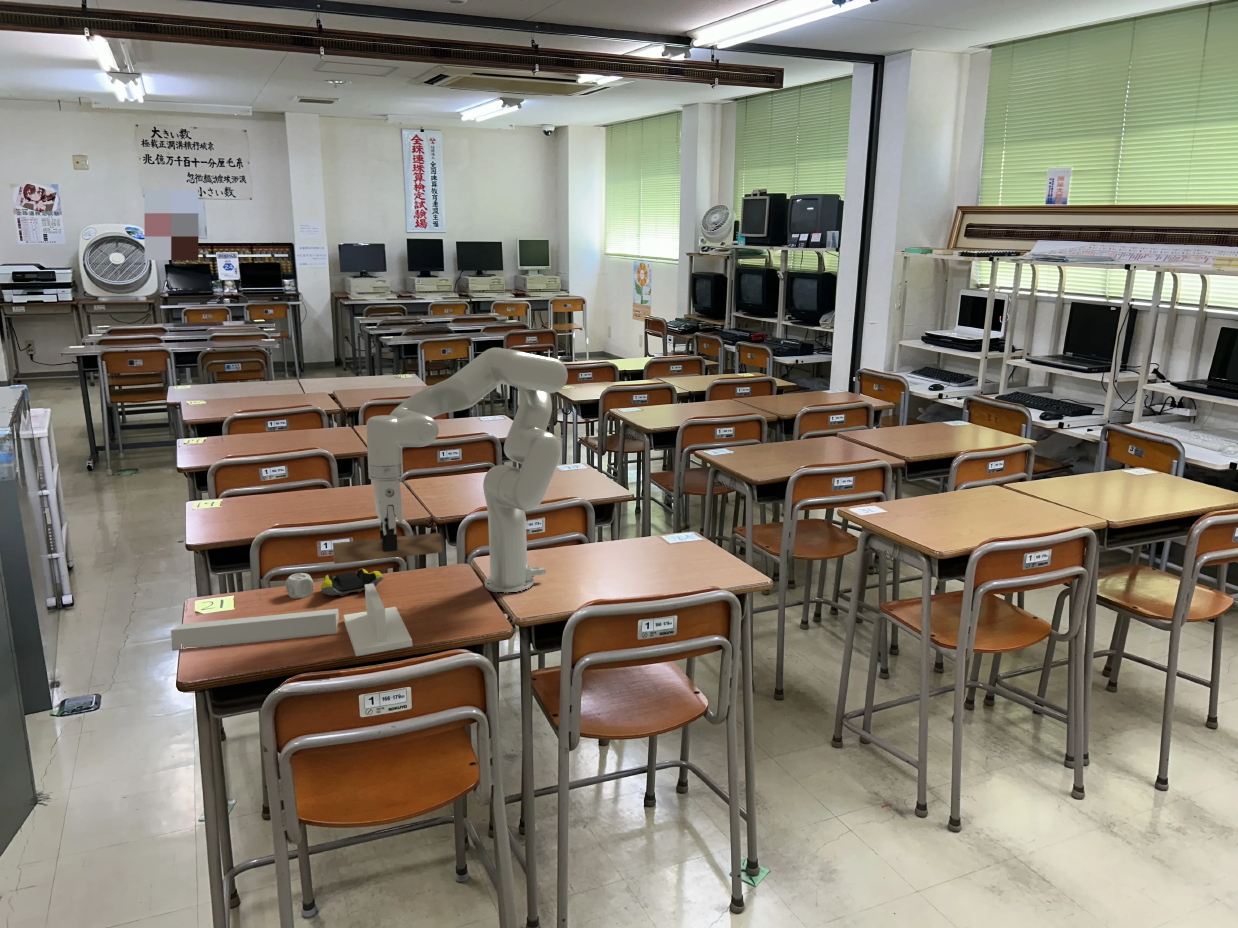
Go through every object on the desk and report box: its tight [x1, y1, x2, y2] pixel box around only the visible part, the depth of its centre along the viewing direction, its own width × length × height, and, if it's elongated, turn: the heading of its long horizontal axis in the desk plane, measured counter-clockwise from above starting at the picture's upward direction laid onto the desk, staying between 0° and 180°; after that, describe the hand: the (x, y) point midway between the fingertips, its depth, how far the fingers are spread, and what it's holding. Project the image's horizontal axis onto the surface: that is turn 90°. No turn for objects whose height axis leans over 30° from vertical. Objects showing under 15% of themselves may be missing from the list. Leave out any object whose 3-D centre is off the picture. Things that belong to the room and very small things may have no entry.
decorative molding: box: [170, 608, 340, 651], centre depth 200 cm, size 34×5×10 cm
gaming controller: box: [320, 568, 384, 596], centre depth 223 cm, size 15×6×10 cm
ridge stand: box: [343, 583, 413, 657], centre depth 199 cm, size 12×20×9 cm, turn 24°
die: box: [285, 572, 315, 599], centre depth 221 cm, size 5×5×5 cm
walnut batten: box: [332, 532, 443, 564], centre depth 202 cm, size 24×3×4 cm, turn 113°
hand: (388, 547), depth 202 cm, fingers closed on walnut batten, 2 cm apart
